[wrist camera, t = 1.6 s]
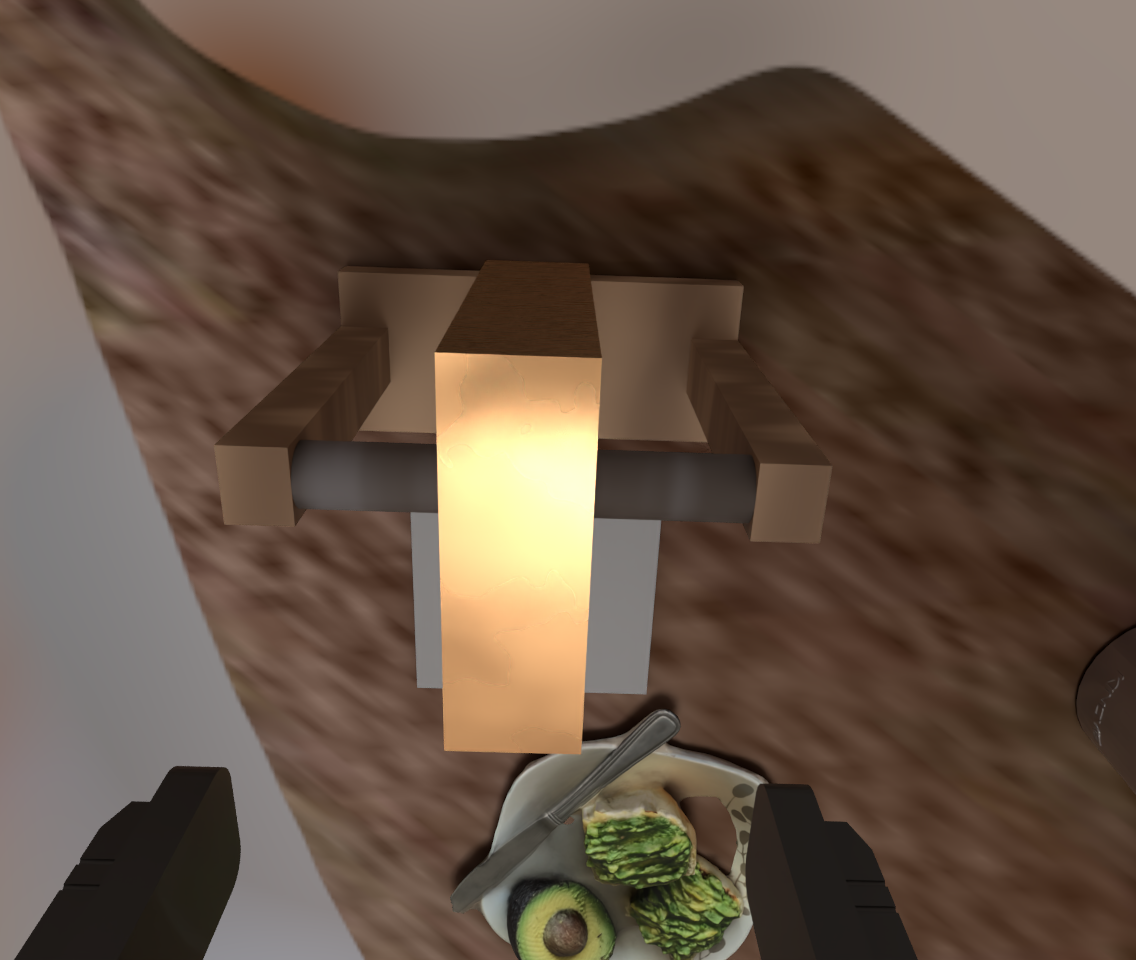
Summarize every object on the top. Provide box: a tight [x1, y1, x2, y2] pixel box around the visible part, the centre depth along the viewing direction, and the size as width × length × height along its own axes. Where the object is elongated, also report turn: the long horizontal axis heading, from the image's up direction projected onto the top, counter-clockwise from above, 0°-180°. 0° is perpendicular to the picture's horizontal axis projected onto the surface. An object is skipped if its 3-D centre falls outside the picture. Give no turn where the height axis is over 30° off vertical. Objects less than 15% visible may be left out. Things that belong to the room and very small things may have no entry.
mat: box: [411, 512, 661, 694], centre depth 43 cm, size 12×12×1 cm
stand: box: [214, 266, 832, 543], centre depth 32 cm, size 17×7×16 cm, turn 88°
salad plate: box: [450, 709, 769, 960], centre depth 48 cm, size 19×18×5 cm
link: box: [435, 260, 602, 755], centre depth 26 cm, size 4×10×12 cm, turn 178°
